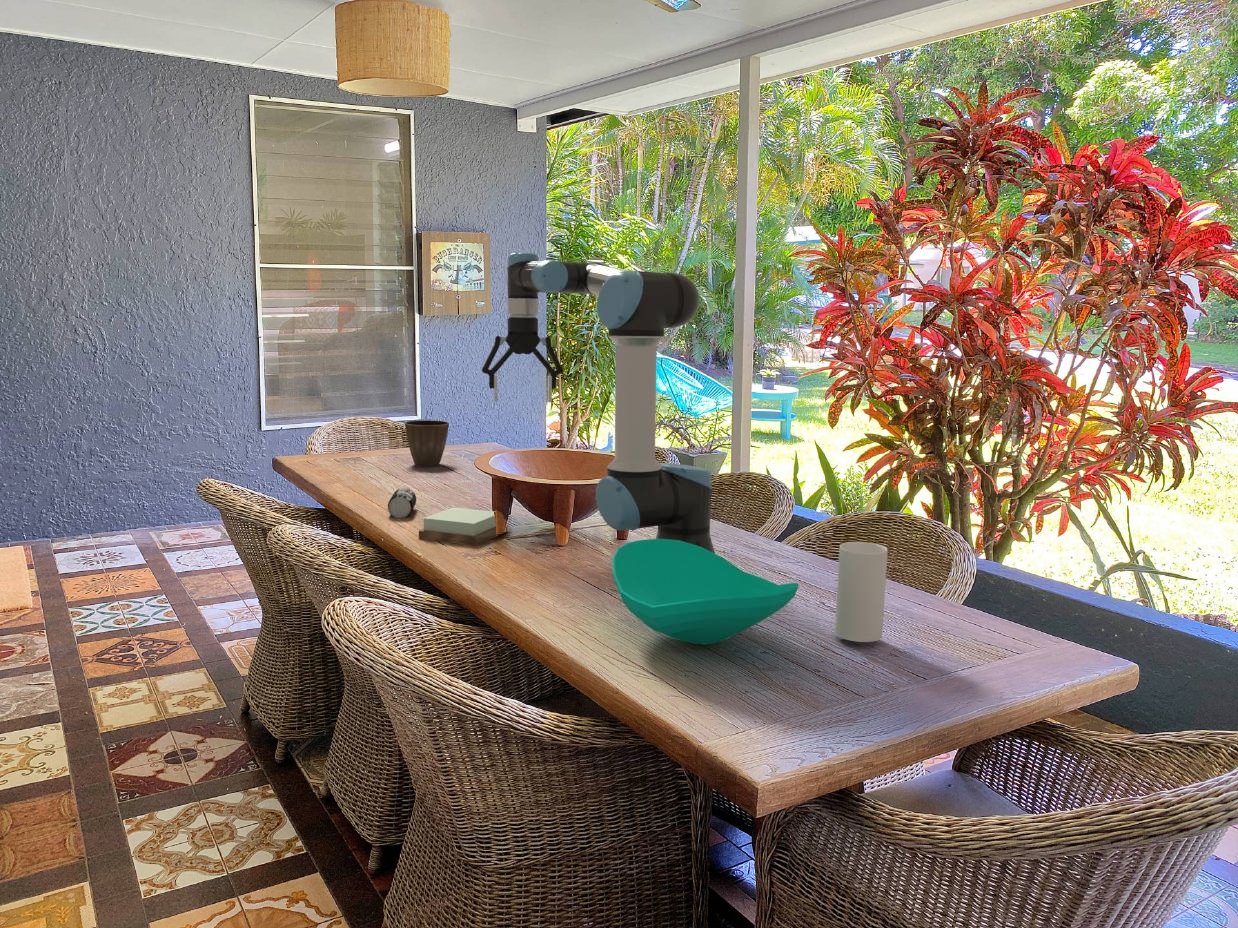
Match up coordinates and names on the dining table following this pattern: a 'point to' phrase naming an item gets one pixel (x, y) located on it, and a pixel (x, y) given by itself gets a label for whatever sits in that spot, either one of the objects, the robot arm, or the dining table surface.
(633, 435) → the robot arm
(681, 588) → the table top decor
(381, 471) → the dining table surface
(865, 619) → the cup
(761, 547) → the dining table surface
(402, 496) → the beverage can
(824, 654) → the dining table surface
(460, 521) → the tower top
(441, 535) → the tower base
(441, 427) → the plant pot
